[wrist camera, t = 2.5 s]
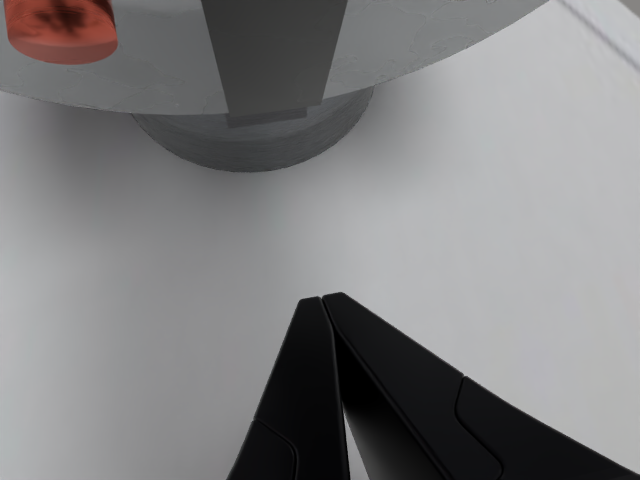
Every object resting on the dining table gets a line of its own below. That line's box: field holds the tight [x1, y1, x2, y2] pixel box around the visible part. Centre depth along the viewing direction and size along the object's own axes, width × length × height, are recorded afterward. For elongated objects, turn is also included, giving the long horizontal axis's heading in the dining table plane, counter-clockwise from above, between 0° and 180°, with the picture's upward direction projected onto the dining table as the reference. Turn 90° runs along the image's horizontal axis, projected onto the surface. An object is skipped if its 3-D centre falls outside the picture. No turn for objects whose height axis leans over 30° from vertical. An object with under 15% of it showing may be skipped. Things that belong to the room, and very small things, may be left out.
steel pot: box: [132, 85, 375, 172], centre depth 23 cm, size 15×20×8 cm
